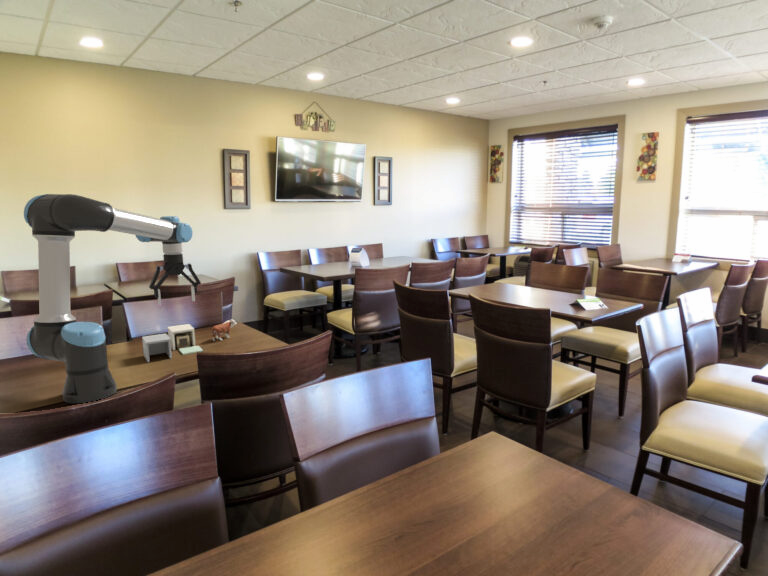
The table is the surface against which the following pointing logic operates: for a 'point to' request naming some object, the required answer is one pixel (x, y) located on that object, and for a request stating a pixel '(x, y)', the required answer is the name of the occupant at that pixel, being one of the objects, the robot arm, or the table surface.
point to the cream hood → (180, 330)
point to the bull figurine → (223, 329)
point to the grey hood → (156, 345)
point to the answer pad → (190, 350)
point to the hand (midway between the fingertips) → (177, 302)
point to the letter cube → (182, 340)
